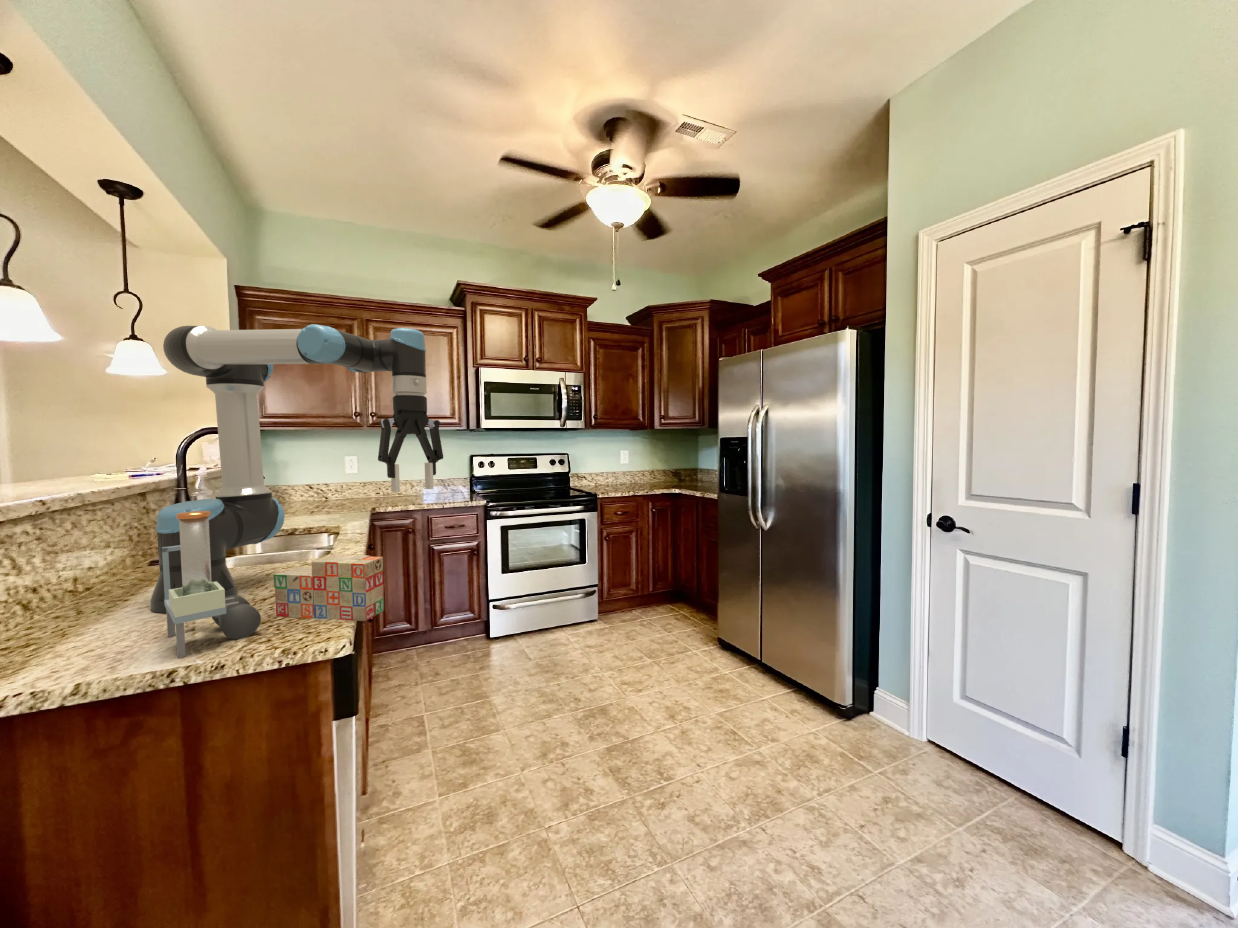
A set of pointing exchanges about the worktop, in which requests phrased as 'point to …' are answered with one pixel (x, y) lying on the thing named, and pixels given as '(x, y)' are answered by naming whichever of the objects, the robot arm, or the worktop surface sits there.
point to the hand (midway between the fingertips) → (413, 490)
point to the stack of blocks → (332, 589)
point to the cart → (210, 613)
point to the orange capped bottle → (195, 552)
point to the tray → (196, 601)
